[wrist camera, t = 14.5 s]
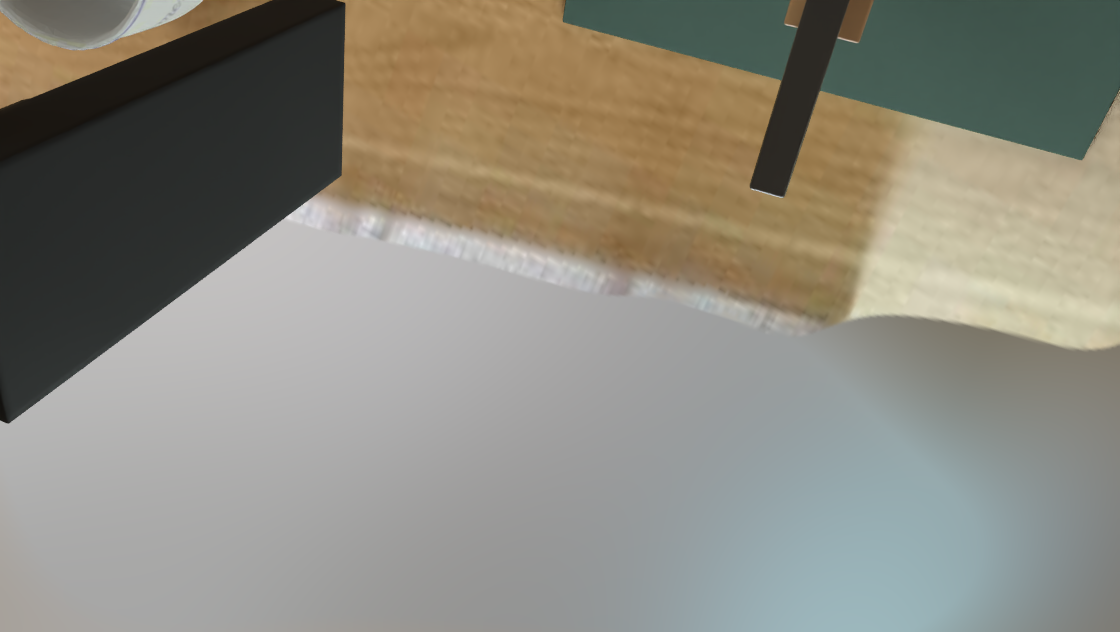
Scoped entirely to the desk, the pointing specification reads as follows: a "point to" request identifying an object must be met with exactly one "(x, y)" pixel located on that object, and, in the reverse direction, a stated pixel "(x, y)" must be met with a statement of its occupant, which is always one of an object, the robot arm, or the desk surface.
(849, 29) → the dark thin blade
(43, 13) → the teacup
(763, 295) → the desk surface
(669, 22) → the mat
